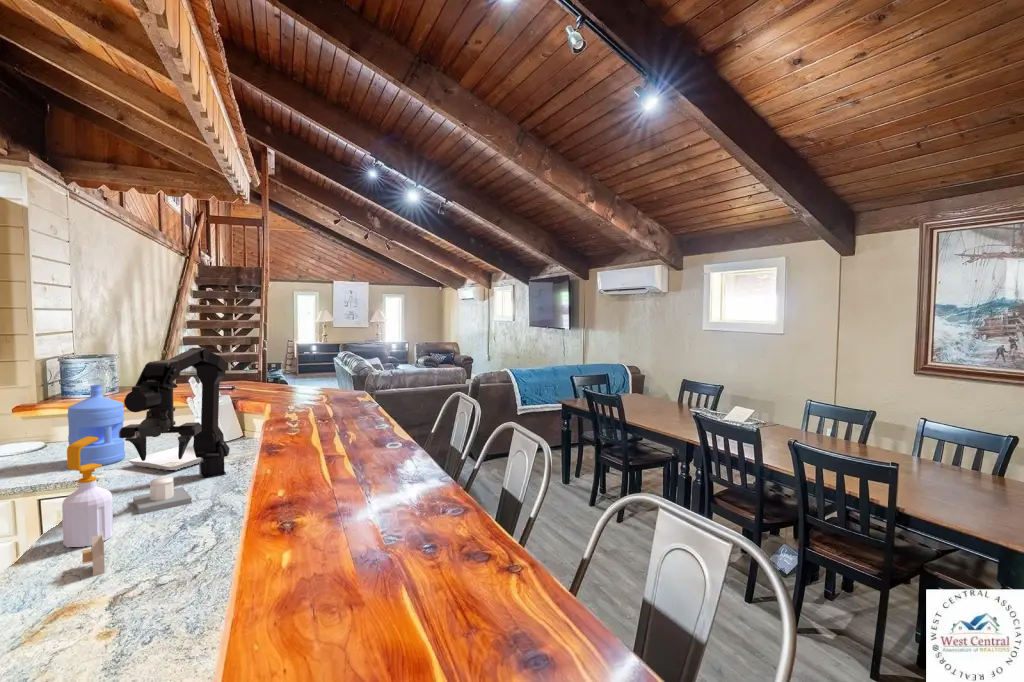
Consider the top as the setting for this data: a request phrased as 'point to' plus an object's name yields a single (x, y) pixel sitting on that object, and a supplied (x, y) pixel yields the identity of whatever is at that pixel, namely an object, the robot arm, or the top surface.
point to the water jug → (97, 428)
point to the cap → (161, 488)
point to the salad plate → (168, 459)
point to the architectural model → (95, 555)
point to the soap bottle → (86, 503)
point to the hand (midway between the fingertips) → (162, 459)
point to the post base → (161, 501)
